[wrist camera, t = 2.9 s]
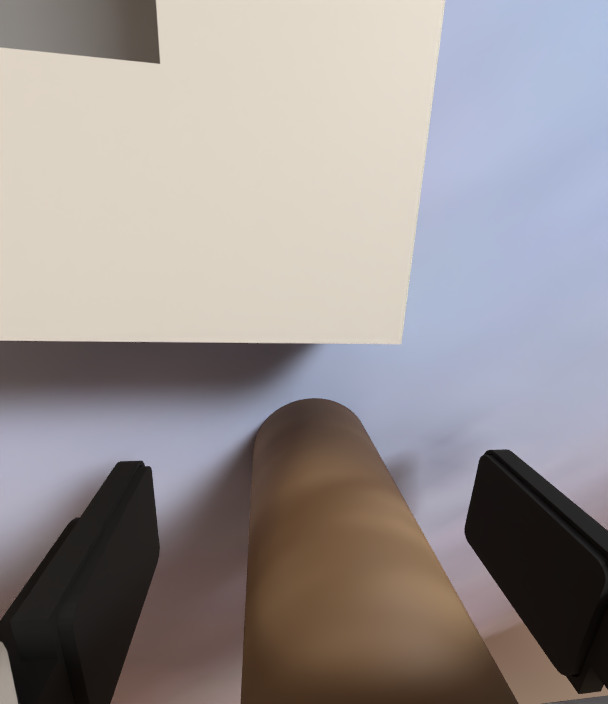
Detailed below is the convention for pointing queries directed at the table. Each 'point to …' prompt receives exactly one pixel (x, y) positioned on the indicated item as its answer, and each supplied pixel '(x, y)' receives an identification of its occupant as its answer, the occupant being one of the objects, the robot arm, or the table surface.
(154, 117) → the bore block
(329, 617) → the pin
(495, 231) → the table surface
